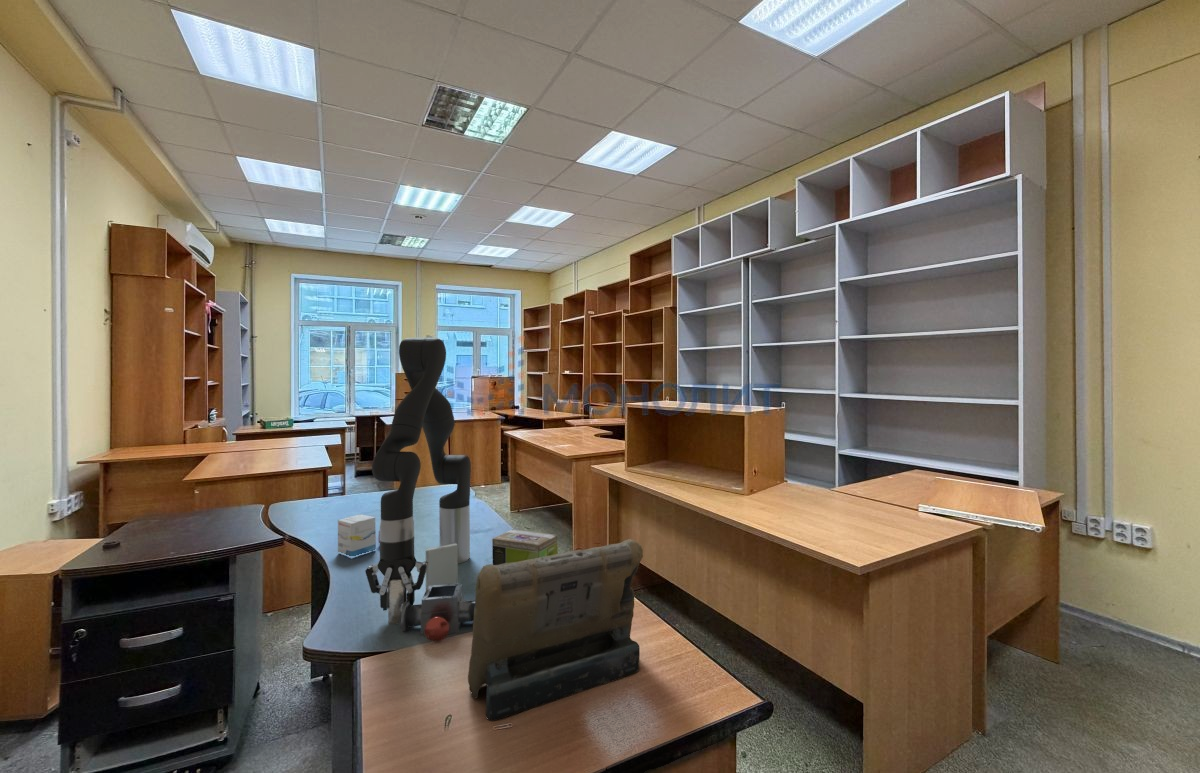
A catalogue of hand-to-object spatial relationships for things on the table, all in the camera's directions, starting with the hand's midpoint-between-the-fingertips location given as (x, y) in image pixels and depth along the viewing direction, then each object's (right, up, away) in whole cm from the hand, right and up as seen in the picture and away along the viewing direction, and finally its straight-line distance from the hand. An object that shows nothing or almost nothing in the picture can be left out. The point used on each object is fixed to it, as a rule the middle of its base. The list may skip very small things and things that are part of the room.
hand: (397, 607), depth 112 cm
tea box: (+28, -3, +16) cm, 32 cm away
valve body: (+12, -3, -5) cm, 13 cm away
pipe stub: (0, -3, 0) cm, 3 cm away
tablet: (+40, -3, -23) cm, 47 cm away
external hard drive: (+6, -3, +14) cm, 16 cm away
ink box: (-33, -3, +45) cm, 56 cm away
